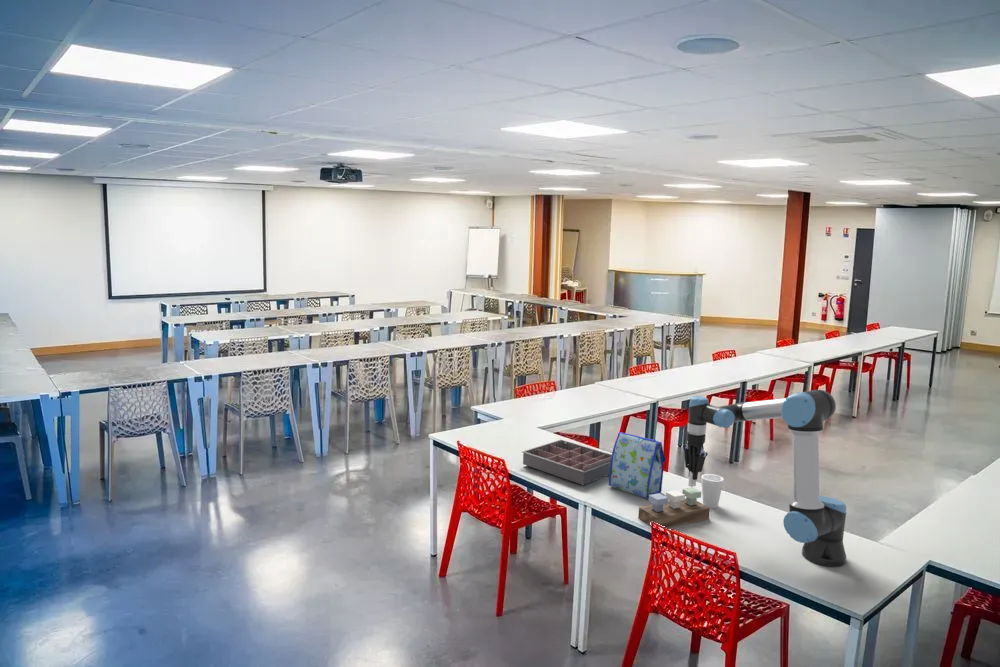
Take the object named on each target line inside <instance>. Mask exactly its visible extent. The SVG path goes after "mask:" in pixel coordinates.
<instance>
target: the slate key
mask: <svg viewBox="0 0 1000 667" xmlns="http://www.w3.org/2000/svg"><path fill="white" fill-rule="evenodd" d="M648 501H649V502H650V503H651V504H652V505H653V510H654V511H656V512H660V511H663V504H668V502H669V499H668V498H667V497H666V495H663V494H662V493H658V494H652V495H649V499H648Z"/></svg>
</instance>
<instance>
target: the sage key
mask: <svg viewBox="0 0 1000 667" xmlns="http://www.w3.org/2000/svg"><path fill="white" fill-rule="evenodd" d="M681 493H682V494H684V495H685V498H686V503H687V504H689V505H696V501H698V500H697V499H701V498H702V490H701V491H700V490H699V489H697V488H695V487H688V488H682V492H681Z"/></svg>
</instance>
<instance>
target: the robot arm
mask: <svg viewBox="0 0 1000 667" xmlns="http://www.w3.org/2000/svg"><path fill="white" fill-rule="evenodd" d="M709 402H710V401H709V398H707V397H706V396H701V395H694V396H691V397H690V399H689V406H688V420H687V429H686V430H687V434H686V441H687V442H686V444H683V445H682V448H683V454H684V466H685V468H686V469H687V471H688V487H689V488H692V487H693V488H695V487H696V486H697V480H698V473H702V472H703V468H704V464H705V461H706V458H707V457H708V454H709V452H705V449H704V444H705V443H706V437H707V436H706V432H707V424H709V425H710V424H711V425H713V426H716V427H719V428H724V429H728V428H730V427H731V426H732V425H733V424H734V423H738V422H747V421H748V422H749V421H760V420H761V421H762V420H772V419H773V420H774V419H783V420H784V422H785V424H787V430H788V431H789V432H790V434H791V433H792V434H791V435H792V473H793V474H792V476H793V479H792V480H793V481H792V482H793V483H792V484H793V498H792V499H791V500H789V505H788V506H789V510H788V512H787V513H786V514H785V515H784V517H783V521H782V522H783V528H784V530H785V532H786V533H787V534H788V535H789V536H790V538H791V539H793V540H794V541H796V542H798V543H800V544H801V543H802V544H803V545H802V547H801V555H802V557H804V558H805V559H806V560H807V561H810V562H811V563H814V564H817V565H820V566H824V567H833V568H834V567H835V568H836V567H842V566H845V565H846V563H847V553H846V550H845V546H844V545H845V544H844V535H845V527H846V526H845V524H846V518H847V517H846V516H847V505H846V503H844V502H843V501H841V500H839V499H836V498H834V497H831V496H825V495H820V460H819V459H820V457H819V455H820V453H819V450H820V449H819V436H820V435H819V434H821V433H822V432H823V431H824V421H827V420H829V419H830V418H832V416H833V415H834V414H835V413H836V408H837V403H836V400H835V398H834V397H833V395H832V394H831V393H829V392H828V391H826V390H823V389H812V390H808V391H801V392H800V391H799V392H796V393H793V394H791V395H788V396H787V397H783V398H782V397H781V398H774V399H765V400H757V401H755V400H754V401H746V402H737V403H731V404H727V405H722V406H716V405H713V404H710V403H709Z"/></svg>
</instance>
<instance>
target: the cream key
mask: <svg viewBox="0 0 1000 667" xmlns="http://www.w3.org/2000/svg"><path fill="white" fill-rule="evenodd" d="M665 496H666V497H667V498H668V501H670V505H669V506H670V507H672V508H674V509H676V508H680V501H685V498H686V496H685V495H684V494H682V492H680V491H679V490H677V489H676V490H675V489H674V490H671V491H670V490H669V491H666V493H665Z"/></svg>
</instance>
